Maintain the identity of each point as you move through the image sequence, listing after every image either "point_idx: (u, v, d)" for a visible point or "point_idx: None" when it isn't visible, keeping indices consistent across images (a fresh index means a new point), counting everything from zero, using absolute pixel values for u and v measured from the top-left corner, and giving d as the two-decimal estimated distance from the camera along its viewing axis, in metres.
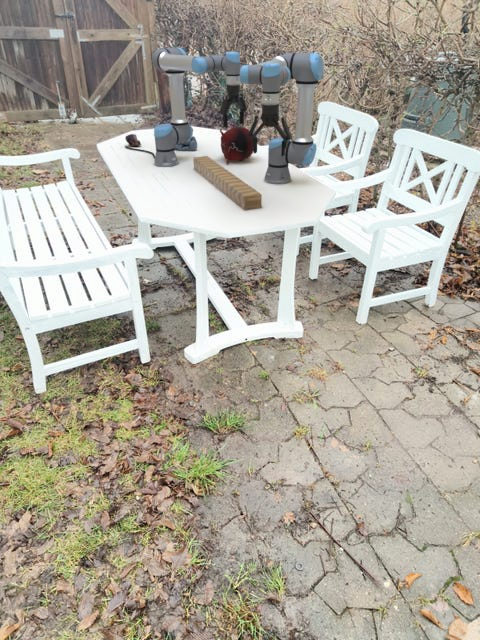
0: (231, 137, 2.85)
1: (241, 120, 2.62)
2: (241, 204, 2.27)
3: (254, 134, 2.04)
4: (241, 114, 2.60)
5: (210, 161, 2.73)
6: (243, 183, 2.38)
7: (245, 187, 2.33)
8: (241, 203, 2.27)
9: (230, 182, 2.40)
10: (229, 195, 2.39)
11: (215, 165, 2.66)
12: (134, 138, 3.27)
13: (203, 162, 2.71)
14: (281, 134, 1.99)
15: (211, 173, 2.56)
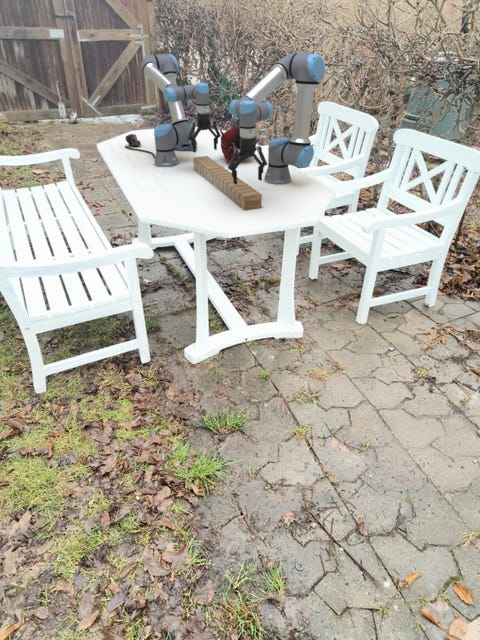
0: (231, 137, 2.85)
1: (214, 146, 2.75)
2: (241, 204, 2.27)
3: (235, 167, 2.17)
4: (214, 140, 2.73)
5: (210, 161, 2.73)
6: (243, 183, 2.38)
7: (245, 187, 2.33)
8: (241, 203, 2.27)
9: (230, 182, 2.40)
10: (229, 195, 2.39)
11: (215, 165, 2.66)
12: (134, 138, 3.27)
13: (203, 162, 2.71)
14: (259, 161, 2.20)
15: (211, 173, 2.56)
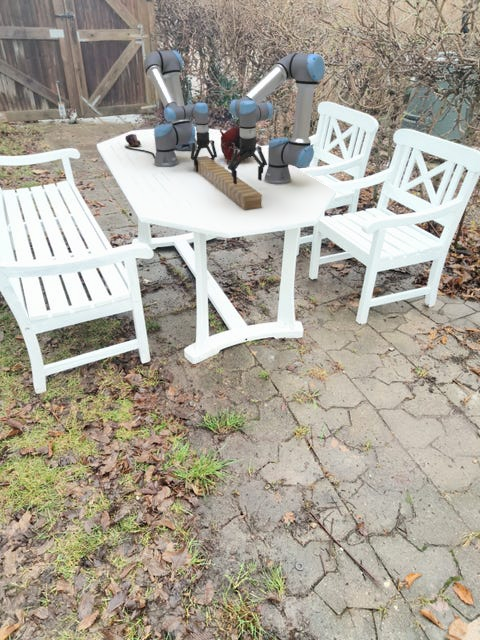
0: (231, 137, 2.85)
1: None
2: (241, 204, 2.27)
3: (235, 167, 2.17)
4: None
5: (210, 161, 2.73)
6: (243, 183, 2.38)
7: (245, 187, 2.33)
8: (241, 203, 2.27)
9: (230, 182, 2.40)
10: (229, 195, 2.39)
11: (215, 165, 2.66)
12: (134, 138, 3.27)
13: (203, 162, 2.71)
14: (259, 161, 2.20)
15: (211, 173, 2.56)
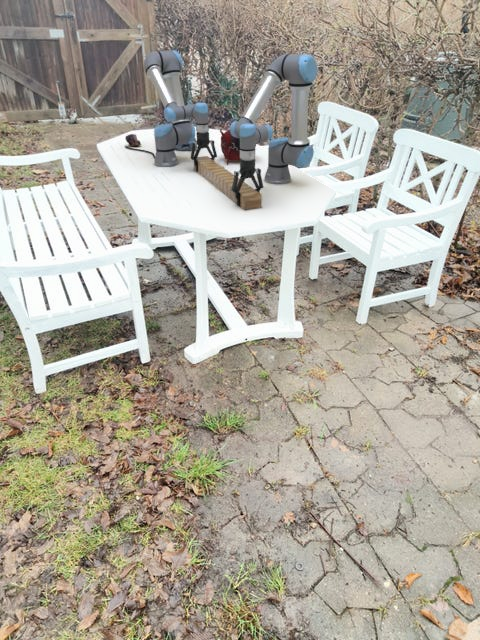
0: (231, 137, 2.85)
1: None
2: (241, 204, 2.27)
3: (238, 189, 2.24)
4: None
5: (210, 161, 2.73)
6: (243, 183, 2.38)
7: (245, 187, 2.33)
8: (241, 203, 2.27)
9: (230, 182, 2.40)
10: (229, 195, 2.39)
11: (215, 165, 2.66)
12: (134, 138, 3.27)
13: (203, 162, 2.71)
14: (256, 184, 2.26)
15: (211, 173, 2.56)
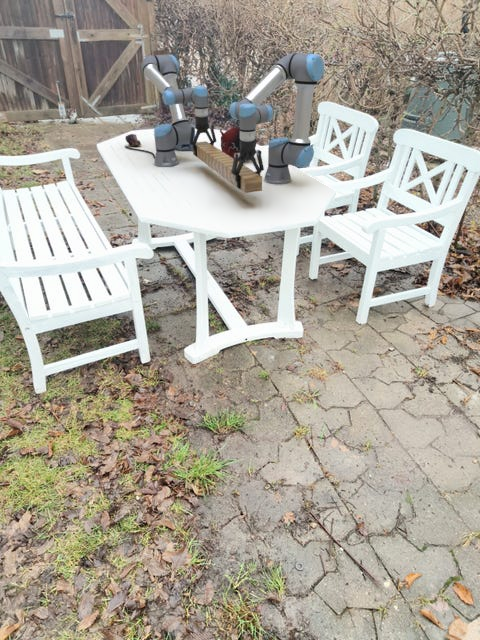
0: (231, 137, 2.85)
1: None
2: (241, 187, 2.22)
3: (238, 171, 2.19)
4: None
5: (209, 146, 2.68)
6: (243, 166, 2.33)
7: (245, 170, 2.28)
8: (241, 186, 2.22)
9: (230, 165, 2.35)
10: (229, 179, 2.34)
11: (214, 150, 2.61)
12: (134, 138, 3.27)
13: (202, 147, 2.67)
14: (257, 166, 2.21)
15: (211, 157, 2.52)
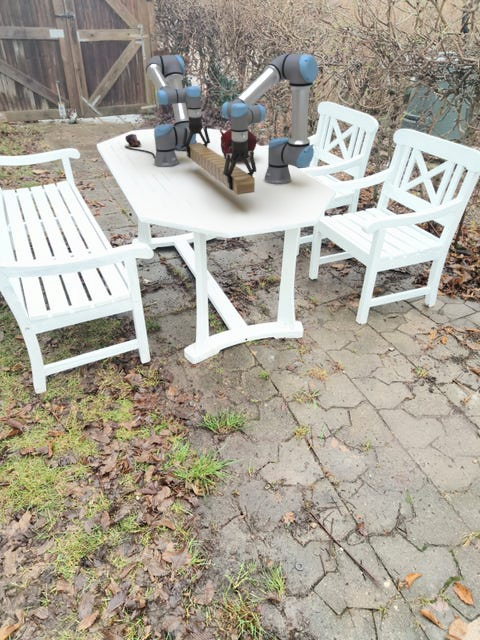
0: (231, 137, 2.85)
1: None
2: (233, 189, 2.18)
3: (230, 172, 2.15)
4: None
5: (203, 147, 2.65)
6: (236, 167, 2.29)
7: (237, 171, 2.24)
8: (233, 187, 2.18)
9: (222, 166, 2.31)
10: (221, 180, 2.30)
11: (208, 151, 2.57)
12: (134, 138, 3.27)
13: (195, 148, 2.63)
14: (249, 167, 2.17)
15: (204, 159, 2.48)
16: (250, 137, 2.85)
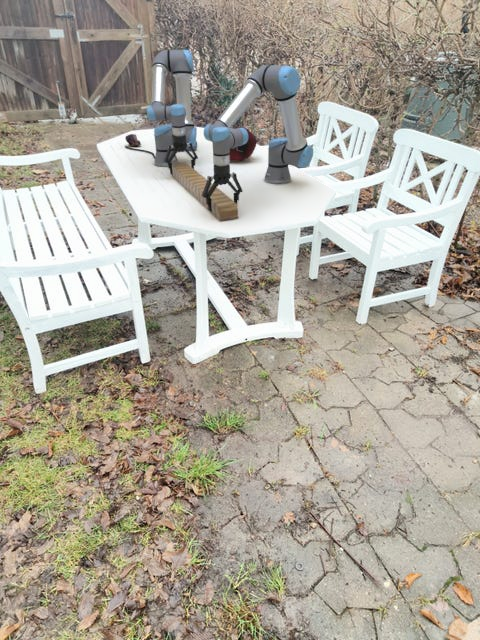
0: None
1: None
2: (216, 215, 2.15)
3: (210, 194, 2.10)
4: (191, 162, 2.66)
5: (188, 168, 2.62)
6: (219, 192, 2.26)
7: (220, 196, 2.21)
8: (216, 213, 2.15)
9: None
10: (205, 204, 2.27)
11: (192, 172, 2.54)
12: (134, 138, 3.27)
13: (180, 169, 2.60)
14: (234, 189, 2.13)
15: (188, 181, 2.45)
16: (250, 137, 2.85)
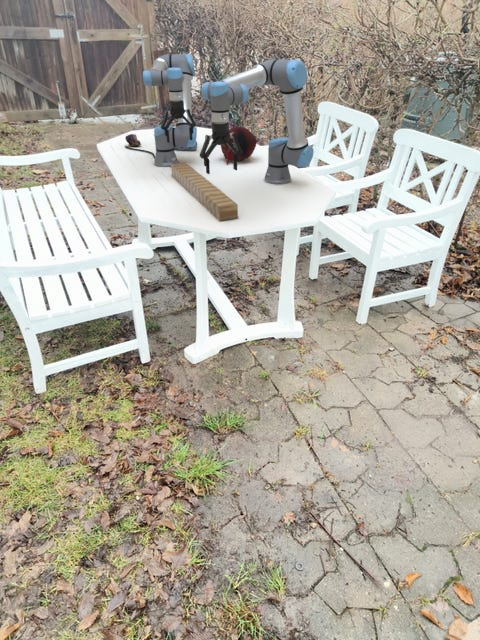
0: None
1: (190, 136, 2.58)
2: (216, 215, 2.15)
3: (208, 155, 2.00)
4: (189, 130, 2.56)
5: (188, 168, 2.62)
6: (219, 192, 2.26)
7: (220, 196, 2.21)
8: (216, 213, 2.15)
9: (206, 190, 2.28)
10: (205, 204, 2.27)
11: (192, 172, 2.54)
12: (134, 138, 3.27)
13: (180, 169, 2.60)
14: (234, 149, 2.03)
15: (188, 181, 2.45)
16: (250, 137, 2.85)
